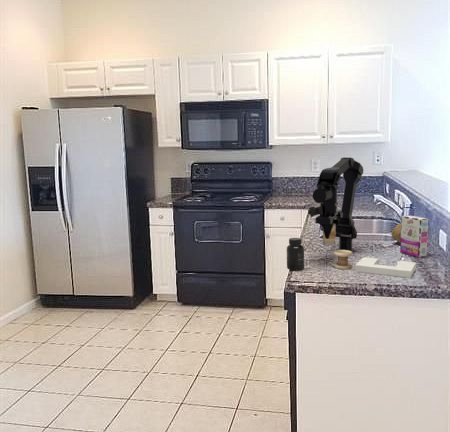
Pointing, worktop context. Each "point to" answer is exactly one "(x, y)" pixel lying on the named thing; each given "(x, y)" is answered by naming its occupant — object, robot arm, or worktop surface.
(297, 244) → the supplement bottle
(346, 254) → the bobbin
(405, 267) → the notched board
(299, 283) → the worktop surface
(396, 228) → the natural sponge
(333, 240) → the copper spool
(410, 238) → the candy bar box
